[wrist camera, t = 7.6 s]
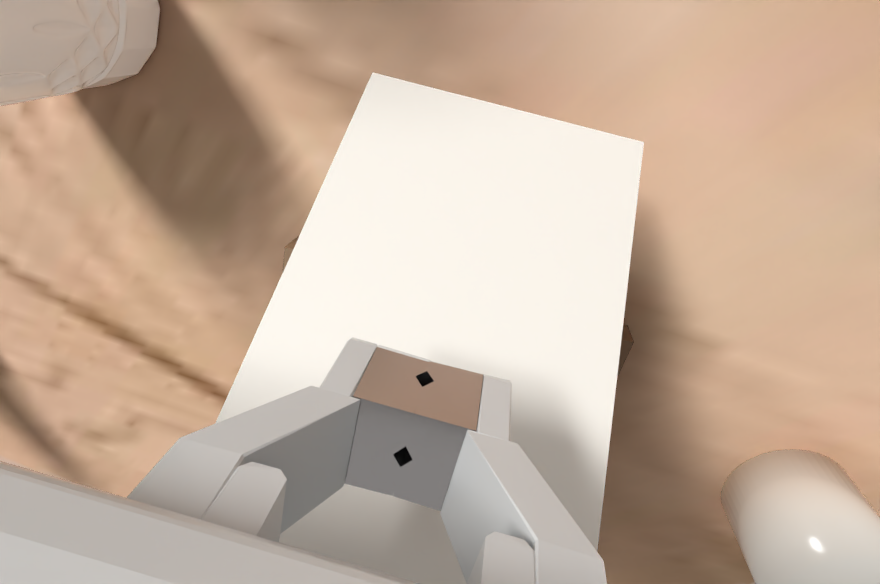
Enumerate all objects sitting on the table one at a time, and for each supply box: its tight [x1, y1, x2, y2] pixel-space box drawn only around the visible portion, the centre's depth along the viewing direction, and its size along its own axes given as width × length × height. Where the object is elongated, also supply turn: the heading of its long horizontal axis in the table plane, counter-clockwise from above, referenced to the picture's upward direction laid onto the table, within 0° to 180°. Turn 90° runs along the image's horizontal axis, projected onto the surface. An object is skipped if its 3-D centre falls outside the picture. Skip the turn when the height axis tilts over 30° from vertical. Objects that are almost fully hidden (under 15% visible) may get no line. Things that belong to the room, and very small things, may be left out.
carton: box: [215, 73, 644, 584], centre depth 16 cm, size 9×9×18 cm
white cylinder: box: [721, 449, 880, 584], centre depth 24 cm, size 6×6×6 cm
